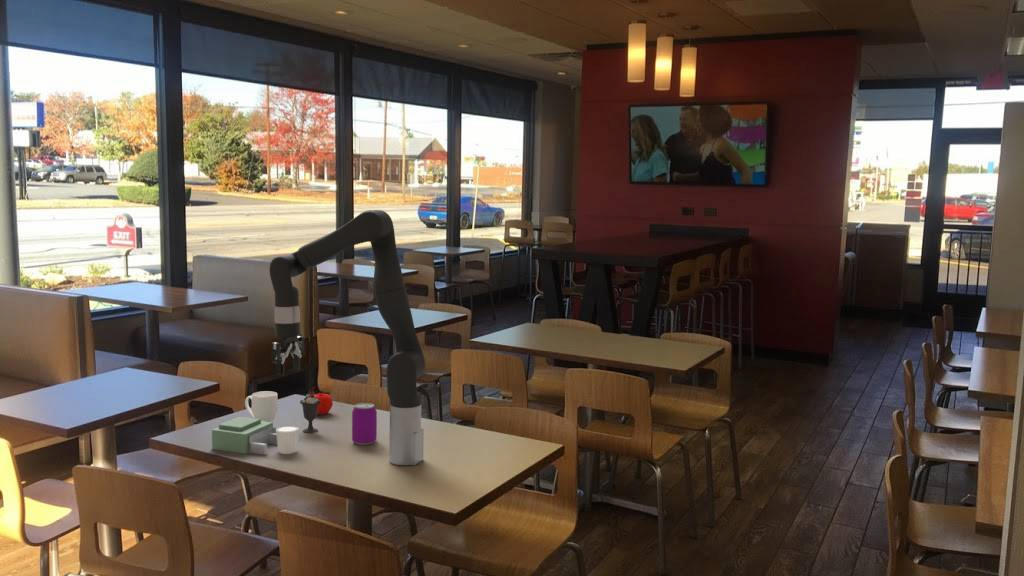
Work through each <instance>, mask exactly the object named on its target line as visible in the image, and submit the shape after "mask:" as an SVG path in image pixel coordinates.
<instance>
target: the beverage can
mask: <svg viewBox="0 0 1024 576" xmlns="http://www.w3.org/2000/svg"><path fill="white" fill-rule="evenodd" d="M377 413H378V412H377V408H376V406H375V404H374V403H371V402H360V403H356V404H354V406H353V409H352V412H351V414H352V415H351V440H352V442H354V444H356V445H357V446H358V445H359V446H368V445H372V444H374V443H375V442H376V441H377V436H378V435H377V433H378V432H377V431H378V430H377V428H378V427H377V426H378V425H377V424H378V421H377V420H378V417H377V416H378V414H377Z"/></svg>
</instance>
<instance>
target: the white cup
mask: <svg viewBox="0 0 1024 576" xmlns="http://www.w3.org/2000/svg"><path fill="white" fill-rule="evenodd" d="M275 433H276V436H277V444H276V445H277V452H278V454H283V455H289V454H295V453H297V452H298V447H299V436H300V428H299V427H298V426H293V425H285V426H279V427H277V428H276V429H275Z"/></svg>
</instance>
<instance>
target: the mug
mask: <svg viewBox="0 0 1024 576" xmlns="http://www.w3.org/2000/svg"><path fill="white" fill-rule="evenodd" d="M249 399H250V400H251V407H250V405H249ZM278 400H279V399H278V392H275V391H270V390H263V391H256V392H253V393H252V394H251V395H248V396H247V397H246V398H245V399H244V407H245V410H246V411H247V412H248V414H250V416H251V418H254V419H261V421H265V422H273V423H274V421H275V418H276V416H277V413H278V408H279V406H278V405H279V404H278V402H279V401H278Z"/></svg>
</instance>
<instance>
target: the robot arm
mask: <svg viewBox="0 0 1024 576" xmlns="http://www.w3.org/2000/svg"><path fill="white" fill-rule="evenodd" d="M395 235H396V234H395V227H394V222H393V219H392V218H391V216H390V215H389V213H387V212H386V211H385V210H383V209H382V210H381V209H369V210H364V211H362V212H361V213H359V214H358V215H356V216H355V217H354V218H352V219H351V220H350V221H348V222H346V223H345V224H344V225H342V226H340V227H339V228H337V229H336V230H334V231H331V232H330V233H328V234H325V235H323V236H321V237H319V238H316V239H314V240H312V241H310V242H308V243H306V244H304V245H301V247H299V248H298V249H297V250H296V251H294V252H292V253H289V254H284V255H283V254H282V255H277V256H275V257H274V258H272V259H271V261H270V264H269V277H270V281H271V284H272V285H271V286H272V288H273V291H274V313H273V314H274V336H275V337H276V338H278V341H277V342H271V351H270V352H271V353H270V355H271V356H270V357H271V358H270V359H271V360H270V361H271V363H274V364H275V365H276V375H277V377H284V376H285V361H286V359H287V358H288V357H289V355H290V354H291V356H292V370H293V371H300V370H301V358H302V357H303V356H305V353H306V352H305V337H304V336H303V335H302V336H301V311H300V310H301V309H300V303H299V302H300V297H299V296H300V295H299V294H300V293H299V289H298V287H296V286H293V281H292V279H293V278H294V277H297V276H299V275H302V274H303V273H305V272H307V271H308V270H309V269H311V268H314V267H316V266H319V265H320V264H322V263H325V262H328V260H331V259H332V258H334V257H336V256H337V255H338V254H340V253H341V252H342V251H344V250H346V249H348V248H350V247H352V246H356V245H360V244H363V243H370V245H371V249H372V253H373V257H374V271H373V273H374V274H373V282H372V283H373V293H374V297H375V301H376V305H377V309H378V312H379V314H380V316H381V317H382V319H383V320H384V322H385V324H386V326H387V327H388V329H389V330H390V333H391V335H392V338H393V341H394V346H395V350H396V353H394V354H393V355H391V356H390V358H389V359H388V362H387V366H386V385H387V386H386V387H387V389H386V391H387V396H388V399H389V463H391V464H392V465H396V466H417V465H418V464H419V463H421V461H424V441H425V440H424V438H425V437H424V434H425V433H424V432H425V431H424V430H425V429H424V428H422V394H420V393H419V392H418V388H417V387H418V386H417V385H418V384H417V379H418V378H420V377H421V376H422V375H423V373H424V372H425V369H426V359H425V356H424V351H423V350H422V347H421V344H420V342H419V339H418V336H417V332H416V329H415V324H414V323H415V322H414V319H413V318H414V317H413V314H412V311H411V306H410V301H409V296H408V291H407V288H406V285H405V284H406V283H405V280H404V276H403V272H402V271H403V270H402V268H401V263H400V259H399V257H398V251H397V244H396V236H395Z"/></svg>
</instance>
